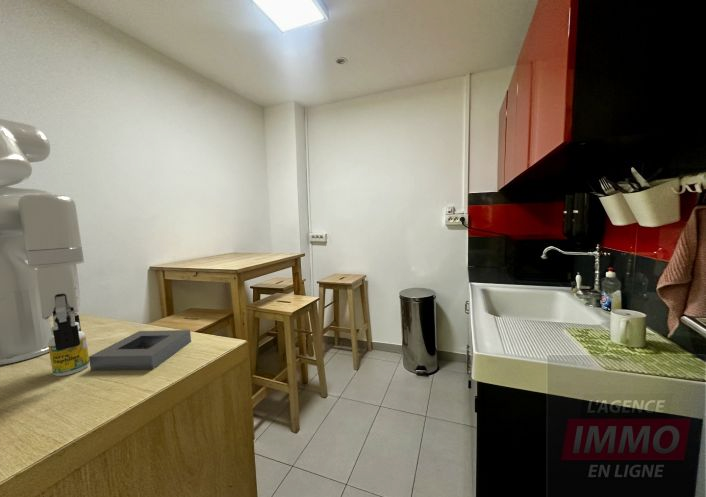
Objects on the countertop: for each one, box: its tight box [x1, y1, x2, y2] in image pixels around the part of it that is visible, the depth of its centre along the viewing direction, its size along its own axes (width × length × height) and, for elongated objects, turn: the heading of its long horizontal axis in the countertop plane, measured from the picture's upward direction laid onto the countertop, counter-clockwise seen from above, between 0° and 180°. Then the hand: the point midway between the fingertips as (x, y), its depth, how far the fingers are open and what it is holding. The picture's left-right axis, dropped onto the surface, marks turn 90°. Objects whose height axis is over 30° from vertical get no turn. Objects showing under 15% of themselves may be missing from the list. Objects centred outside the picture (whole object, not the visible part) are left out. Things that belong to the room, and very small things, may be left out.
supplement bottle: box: [48, 322, 90, 377], centre depth 56 cm, size 5×5×10 cm
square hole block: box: [89, 329, 192, 372], centre depth 63 cm, size 13×13×3 cm
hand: (69, 340), depth 56 cm, fingers open, 9 cm apart
